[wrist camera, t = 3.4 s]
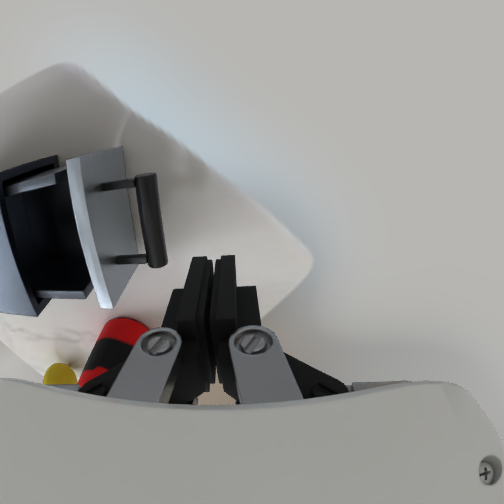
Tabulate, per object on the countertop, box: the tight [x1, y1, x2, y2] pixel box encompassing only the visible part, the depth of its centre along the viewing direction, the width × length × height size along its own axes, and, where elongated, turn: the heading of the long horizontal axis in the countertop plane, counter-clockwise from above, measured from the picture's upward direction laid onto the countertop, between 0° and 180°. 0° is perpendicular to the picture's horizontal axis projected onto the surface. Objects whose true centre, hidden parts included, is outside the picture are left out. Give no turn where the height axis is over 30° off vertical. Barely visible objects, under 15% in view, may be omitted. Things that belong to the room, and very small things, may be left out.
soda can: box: [77, 318, 149, 387], centre depth 26 cm, size 8×8×12 cm
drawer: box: [3, 146, 168, 309], centre depth 19 cm, size 18×11×8 cm, turn 91°
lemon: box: [43, 363, 77, 384], centre depth 30 cm, size 6×6×8 cm
